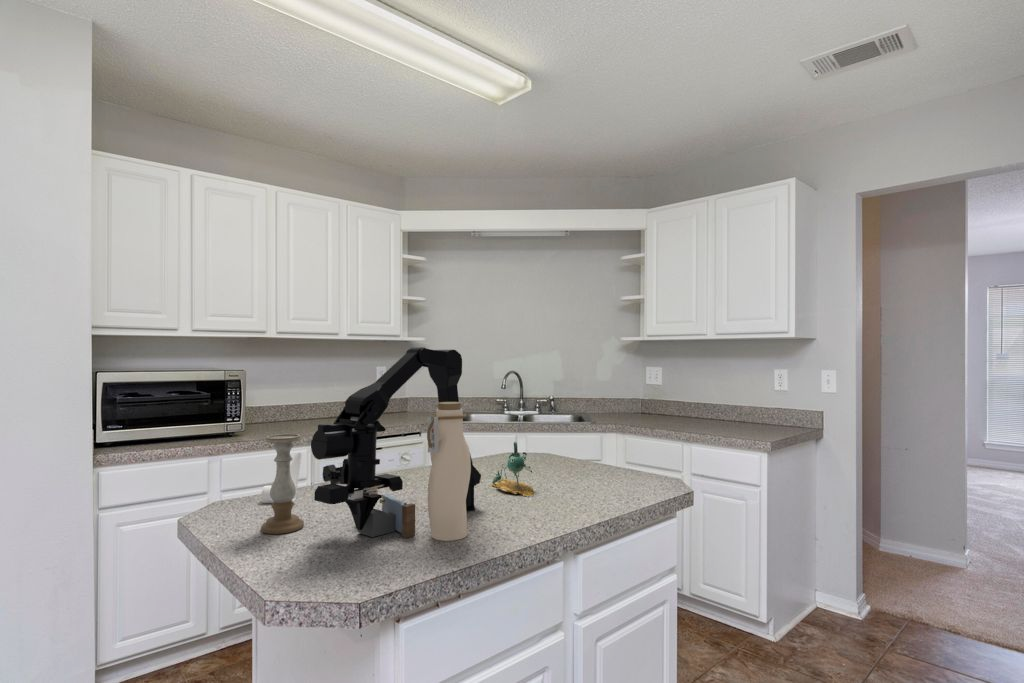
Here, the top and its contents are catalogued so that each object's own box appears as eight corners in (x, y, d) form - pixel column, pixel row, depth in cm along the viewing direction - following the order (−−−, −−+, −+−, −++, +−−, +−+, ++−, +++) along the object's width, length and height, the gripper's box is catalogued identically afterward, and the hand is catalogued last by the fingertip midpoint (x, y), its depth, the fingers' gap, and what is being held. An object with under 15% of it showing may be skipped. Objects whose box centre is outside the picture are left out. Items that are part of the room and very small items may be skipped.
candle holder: (260, 537, 116) (261, 440, 117) (261, 525, 124) (262, 434, 125) (305, 531, 120) (305, 437, 120) (302, 520, 128) (303, 432, 128)
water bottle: (449, 547, 110) (449, 406, 110) (415, 539, 115) (415, 403, 115) (479, 532, 118) (479, 402, 119) (446, 526, 123) (446, 400, 124)
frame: (415, 535, 117) (415, 502, 117) (406, 538, 115) (406, 505, 115) (366, 522, 126) (366, 492, 127) (357, 524, 124) (358, 494, 125)
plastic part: (261, 505, 141) (261, 459, 142) (274, 495, 151) (274, 452, 151) (291, 504, 142) (291, 458, 142) (302, 493, 152) (302, 451, 152)
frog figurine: (512, 482, 167) (515, 434, 166) (545, 502, 151) (549, 449, 150) (483, 485, 162) (487, 436, 161) (515, 507, 146) (519, 452, 145)
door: (406, 532, 118) (406, 504, 118) (397, 534, 117) (397, 505, 117) (387, 520, 127) (387, 493, 127) (378, 521, 126) (378, 495, 126)
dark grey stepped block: (395, 531, 120) (395, 509, 120) (372, 537, 115) (373, 514, 115) (380, 526, 123) (381, 505, 123) (357, 532, 118) (358, 510, 118)
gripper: (372, 446, 128) (369, 514, 127) (299, 455, 113) (296, 532, 112) (405, 451, 121) (403, 523, 121) (333, 461, 106) (330, 543, 106)
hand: (359, 529), depth 115 cm, fingers closed
